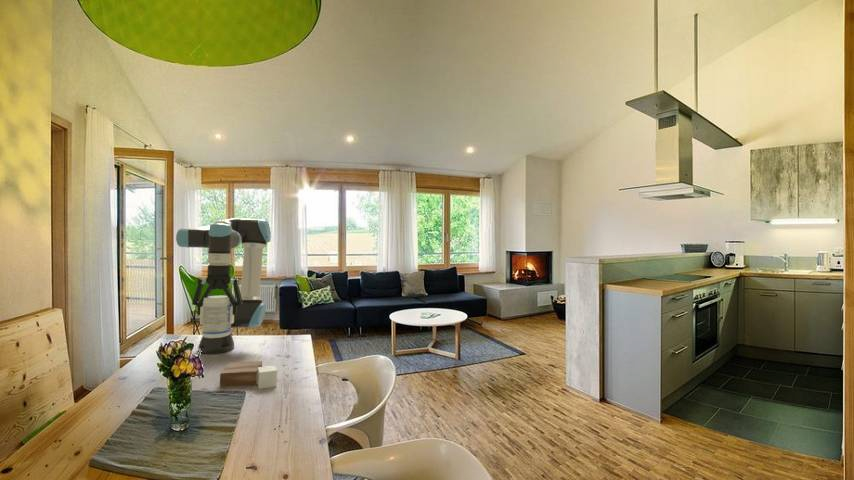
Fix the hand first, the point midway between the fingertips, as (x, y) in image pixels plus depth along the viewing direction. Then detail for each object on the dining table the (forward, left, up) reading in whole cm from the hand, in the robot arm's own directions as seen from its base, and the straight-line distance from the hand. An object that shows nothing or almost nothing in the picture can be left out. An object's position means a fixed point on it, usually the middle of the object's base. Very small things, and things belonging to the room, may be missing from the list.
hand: (217, 323), depth 141 cm
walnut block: (+1, +10, -22) cm, 24 cm away
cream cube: (+7, +20, -22) cm, 30 cm away
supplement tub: (0, 0, -5) cm, 5 cm away
